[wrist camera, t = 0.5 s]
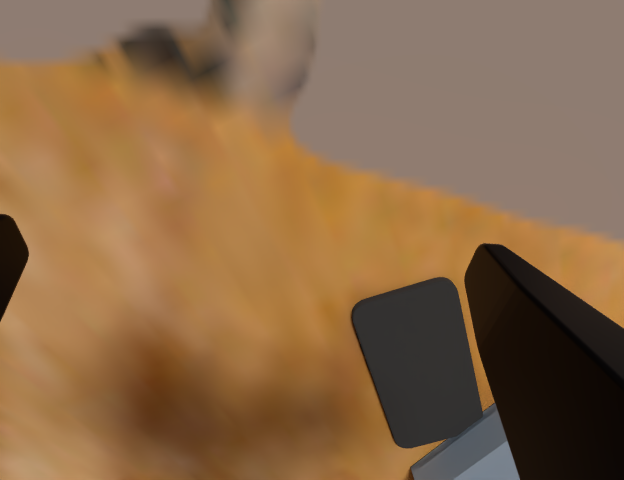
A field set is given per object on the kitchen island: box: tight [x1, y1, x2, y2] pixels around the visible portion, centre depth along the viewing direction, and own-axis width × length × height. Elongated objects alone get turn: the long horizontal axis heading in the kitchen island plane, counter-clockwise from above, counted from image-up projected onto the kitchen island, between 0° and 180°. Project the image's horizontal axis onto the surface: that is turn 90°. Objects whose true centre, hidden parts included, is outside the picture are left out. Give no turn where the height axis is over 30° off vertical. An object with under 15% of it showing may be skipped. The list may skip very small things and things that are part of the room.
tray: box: [411, 403, 520, 480], centre depth 32 cm, size 16×16×3 cm
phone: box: [352, 277, 483, 448], centre depth 29 cm, size 7×1×15 cm
